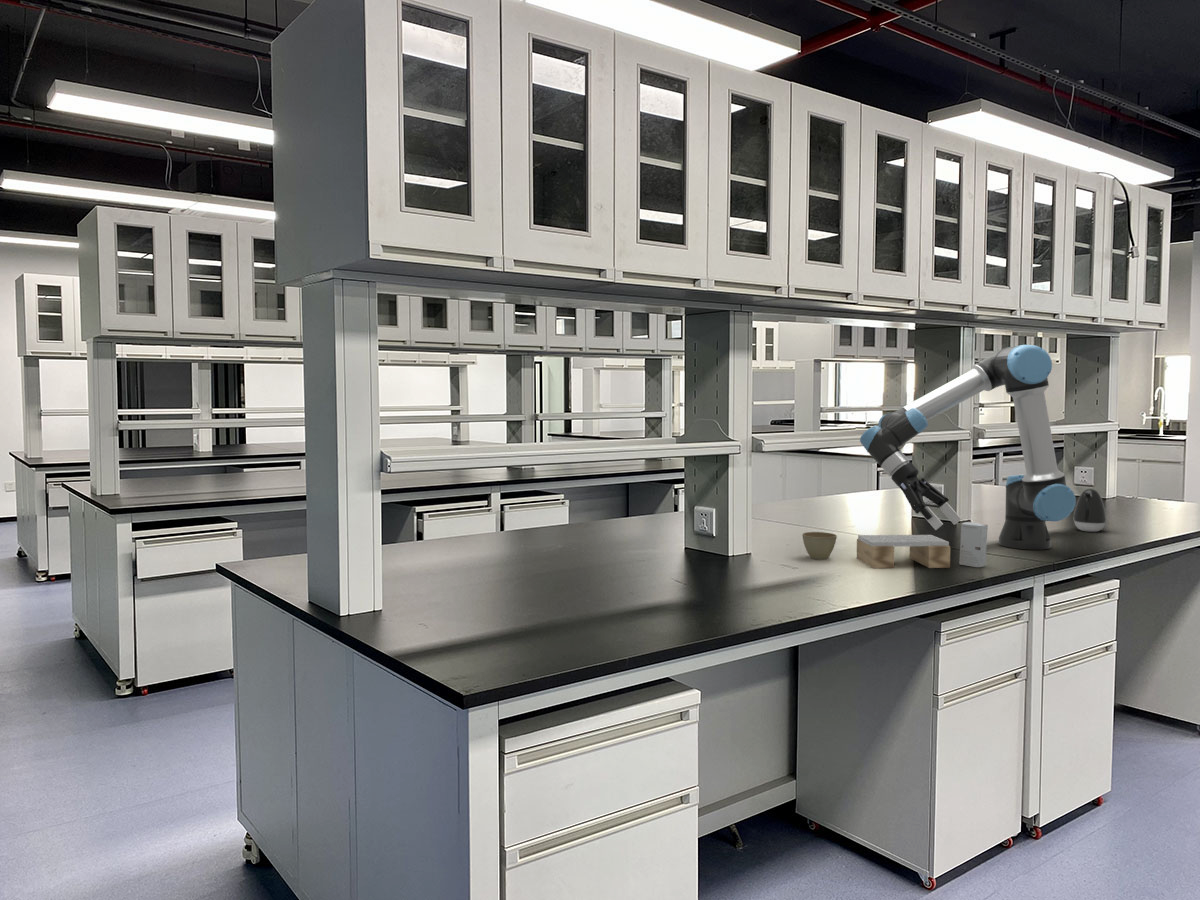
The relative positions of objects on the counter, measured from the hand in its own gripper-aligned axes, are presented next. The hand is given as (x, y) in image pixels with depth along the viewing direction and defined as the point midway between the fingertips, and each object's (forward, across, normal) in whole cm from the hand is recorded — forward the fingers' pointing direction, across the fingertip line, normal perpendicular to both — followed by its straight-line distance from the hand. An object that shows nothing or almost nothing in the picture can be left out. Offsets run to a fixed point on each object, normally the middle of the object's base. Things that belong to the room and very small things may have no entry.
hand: (949, 524), depth 241 cm
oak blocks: (+1, +10, -15) cm, 18 cm away
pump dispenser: (+18, -92, +2) cm, 94 cm away
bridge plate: (-3, +10, -10) cm, 15 cm away
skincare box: (+13, -1, -3) cm, 13 cm away
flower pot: (-13, +20, -30) cm, 38 cm away
